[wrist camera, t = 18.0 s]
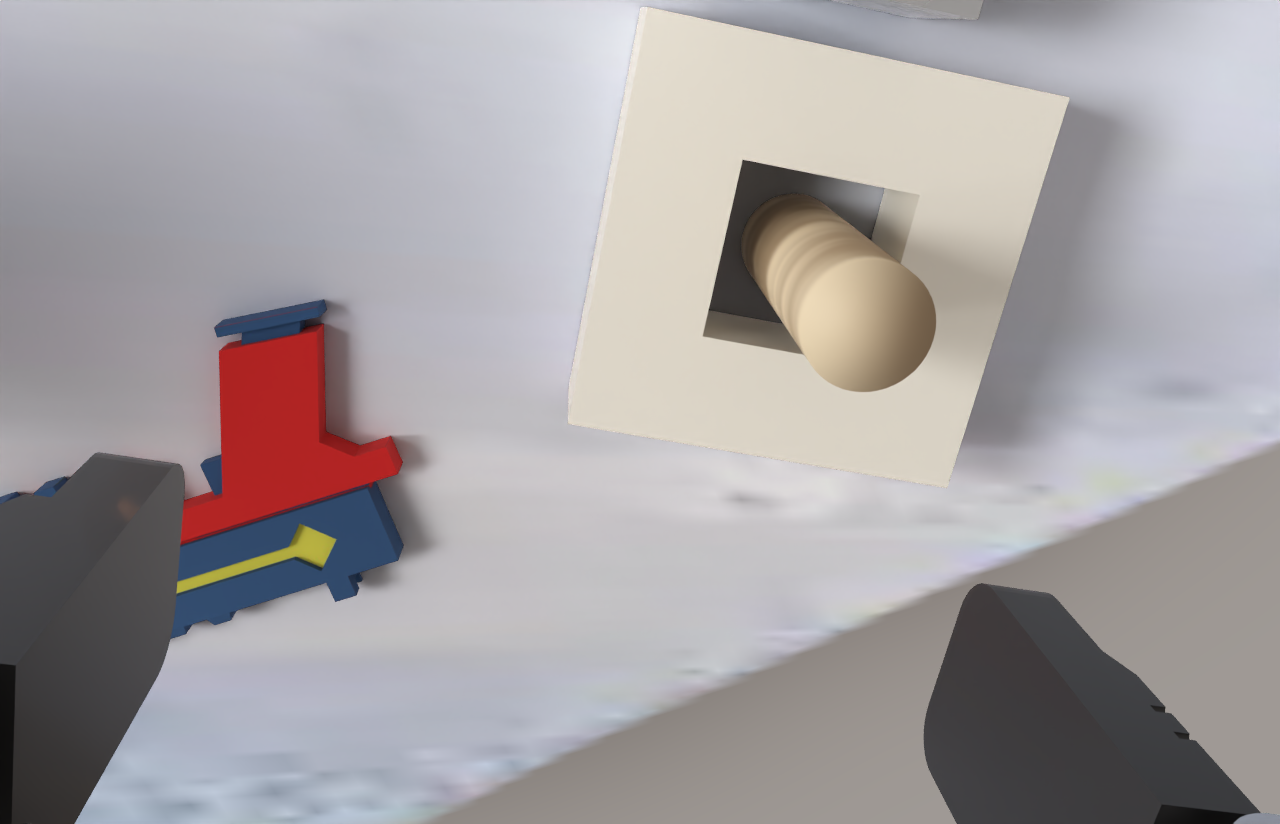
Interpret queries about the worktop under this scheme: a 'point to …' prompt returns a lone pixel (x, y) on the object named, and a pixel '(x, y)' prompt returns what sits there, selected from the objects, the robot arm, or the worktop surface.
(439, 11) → the worktop surface
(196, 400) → the worktop surface
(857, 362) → the dowel
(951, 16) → the pin mount
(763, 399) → the socket block
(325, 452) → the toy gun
